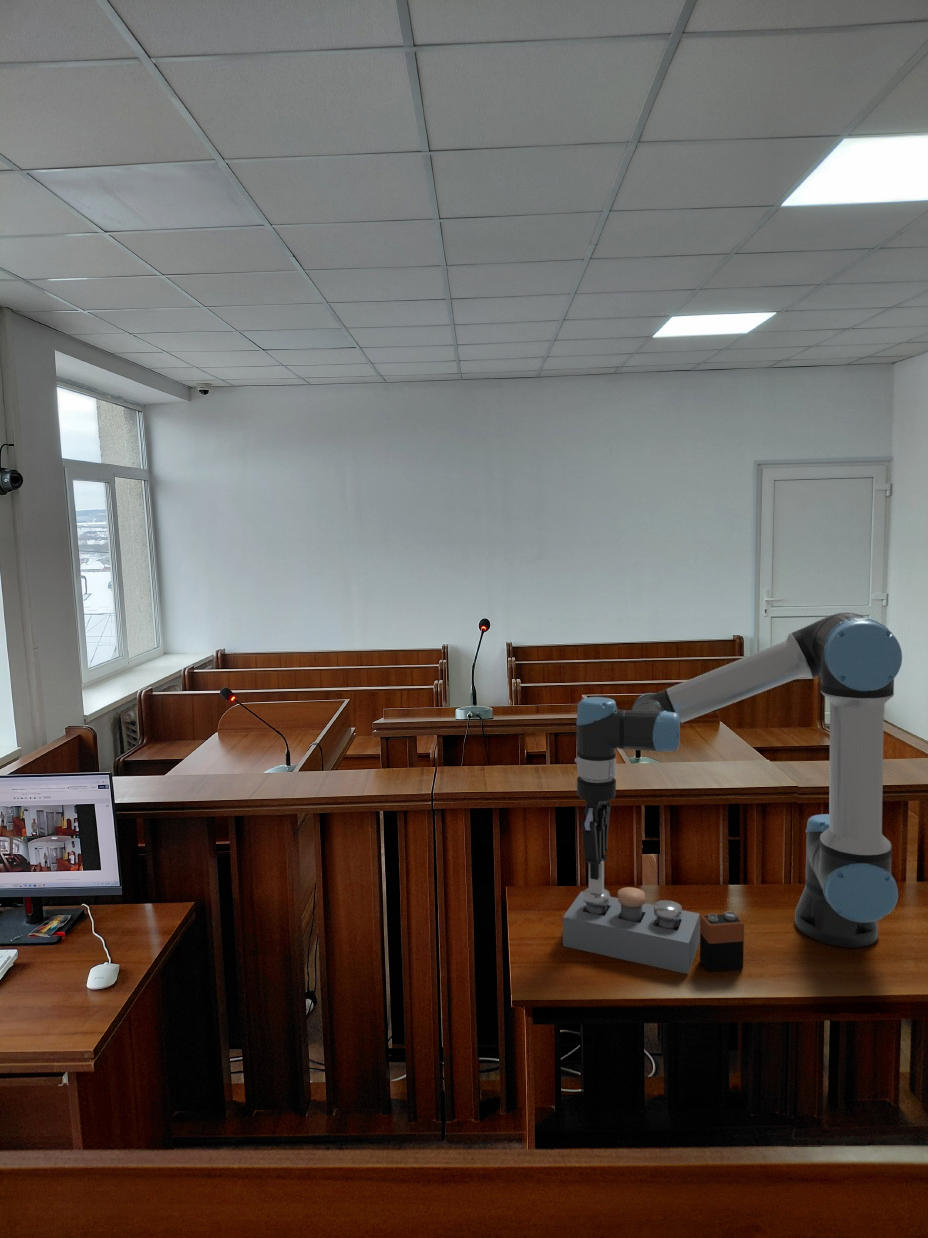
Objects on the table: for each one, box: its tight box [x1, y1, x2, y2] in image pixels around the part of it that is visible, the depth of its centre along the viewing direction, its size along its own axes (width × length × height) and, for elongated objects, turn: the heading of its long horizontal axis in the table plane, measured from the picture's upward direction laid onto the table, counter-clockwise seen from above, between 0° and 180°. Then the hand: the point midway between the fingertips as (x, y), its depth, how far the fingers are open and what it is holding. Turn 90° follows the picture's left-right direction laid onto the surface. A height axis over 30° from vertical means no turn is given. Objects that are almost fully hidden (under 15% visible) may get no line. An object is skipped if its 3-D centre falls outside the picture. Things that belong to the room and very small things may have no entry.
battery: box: [699, 910, 745, 973], centre depth 144 cm, size 4×7×10 cm, turn 96°
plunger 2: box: [653, 899, 683, 931], centre depth 149 cm, size 5×5×6 cm
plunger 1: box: [583, 887, 611, 916], centre depth 155 cm, size 5×5×6 cm
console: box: [562, 890, 701, 975], centre depth 152 cm, size 24×12×6 cm, turn 64°
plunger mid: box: [617, 886, 646, 923], centre depth 152 cm, size 5×5×6 cm
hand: (596, 892), depth 154 cm, fingers closed
